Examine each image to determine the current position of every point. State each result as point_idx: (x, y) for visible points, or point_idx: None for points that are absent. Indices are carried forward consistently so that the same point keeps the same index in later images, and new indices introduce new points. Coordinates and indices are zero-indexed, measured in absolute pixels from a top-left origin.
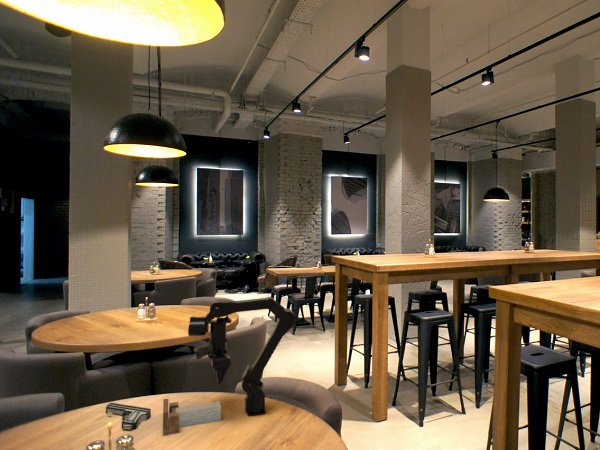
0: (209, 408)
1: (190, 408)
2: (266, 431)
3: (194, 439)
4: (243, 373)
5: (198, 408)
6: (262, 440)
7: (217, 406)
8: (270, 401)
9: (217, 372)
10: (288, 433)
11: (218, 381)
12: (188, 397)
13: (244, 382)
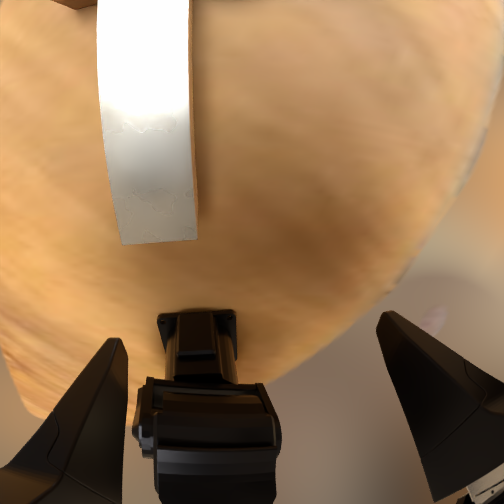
0: (109, 172)
1: (133, 39)
2: (51, 340)
3: (2, 96)
4: (249, 458)
5: (114, 96)
6: (6, 320)
7: (118, 224)
8: (264, 375)
9: (29, 451)
10: (49, 375)
11: (94, 360)
12: (459, 90)
13: (152, 438)
